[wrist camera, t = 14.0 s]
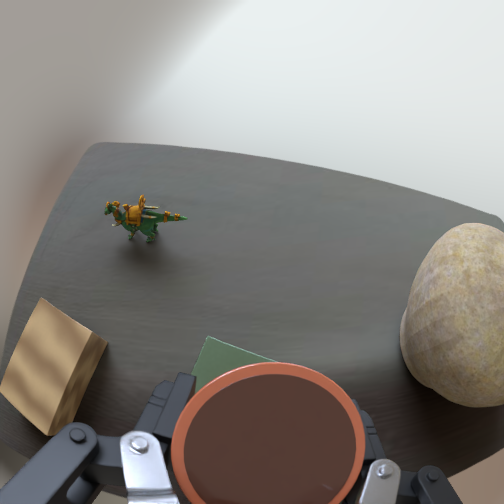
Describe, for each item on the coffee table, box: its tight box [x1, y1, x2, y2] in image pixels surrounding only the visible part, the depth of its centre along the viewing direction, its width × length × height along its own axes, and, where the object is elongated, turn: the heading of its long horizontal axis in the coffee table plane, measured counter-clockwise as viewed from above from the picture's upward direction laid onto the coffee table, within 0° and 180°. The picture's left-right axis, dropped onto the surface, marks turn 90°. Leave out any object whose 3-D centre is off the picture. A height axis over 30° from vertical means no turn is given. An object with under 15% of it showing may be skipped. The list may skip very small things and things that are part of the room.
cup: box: [171, 362, 365, 504], centre depth 10 cm, size 6×6×8 cm
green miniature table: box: [191, 336, 276, 393], centre depth 24 cm, size 13×11×8 cm
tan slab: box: [0, 297, 108, 436], centre depth 25 cm, size 14×9×5 cm, turn 160°
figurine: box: [105, 195, 188, 242], centre depth 35 cm, size 3×12×8 cm, turn 86°
